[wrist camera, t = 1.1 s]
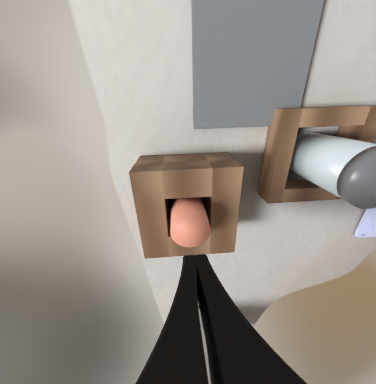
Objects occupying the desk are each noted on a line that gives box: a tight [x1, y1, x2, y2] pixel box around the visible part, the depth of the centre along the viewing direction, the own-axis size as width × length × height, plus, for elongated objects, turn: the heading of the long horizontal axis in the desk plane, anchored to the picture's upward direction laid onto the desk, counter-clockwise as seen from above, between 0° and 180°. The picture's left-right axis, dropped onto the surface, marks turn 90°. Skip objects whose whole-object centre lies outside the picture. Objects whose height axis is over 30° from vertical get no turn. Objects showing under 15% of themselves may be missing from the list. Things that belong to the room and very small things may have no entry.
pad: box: [192, 0, 324, 129], centre depth 15 cm, size 10×10×1 cm
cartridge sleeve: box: [258, 106, 376, 203], centre depth 18 cm, size 9×9×2 cm
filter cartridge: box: [289, 132, 376, 209], centre depth 16 cm, size 4×4×8 cm
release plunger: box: [170, 197, 211, 247], centre depth 16 cm, size 3×3×5 cm
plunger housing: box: [129, 152, 244, 258], centre depth 18 cm, size 9×9×5 cm
